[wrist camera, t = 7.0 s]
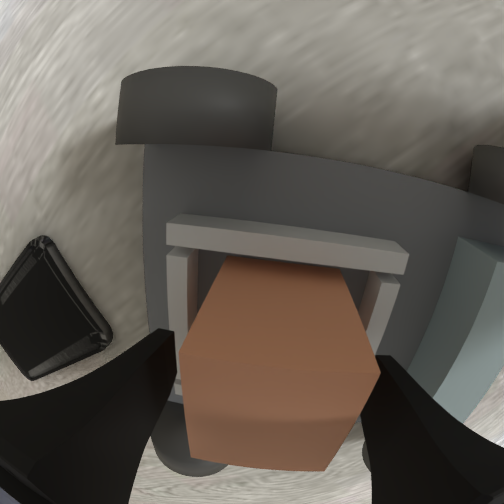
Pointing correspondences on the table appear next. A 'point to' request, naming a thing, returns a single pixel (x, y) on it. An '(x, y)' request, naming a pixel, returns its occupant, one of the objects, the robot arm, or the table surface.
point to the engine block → (275, 367)
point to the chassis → (312, 235)
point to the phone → (47, 313)
